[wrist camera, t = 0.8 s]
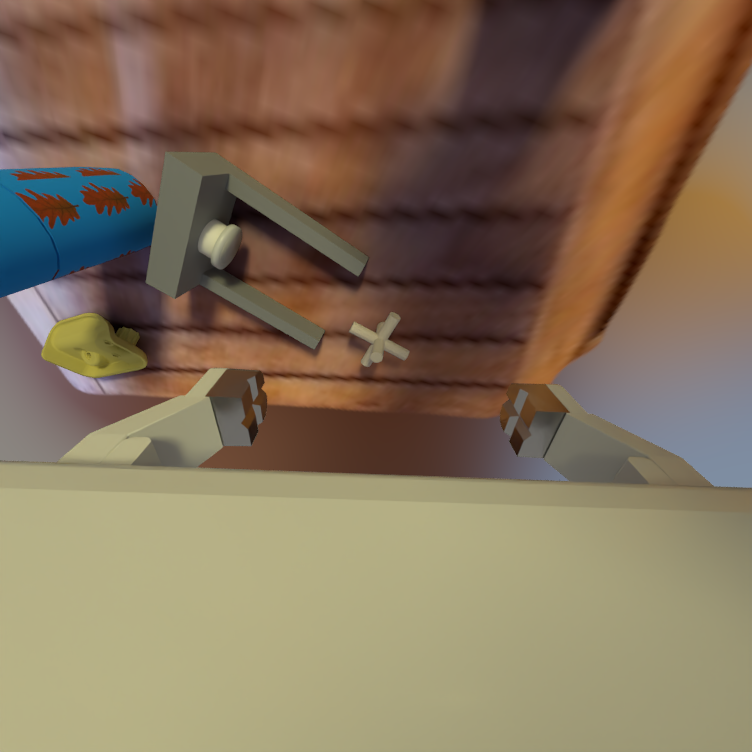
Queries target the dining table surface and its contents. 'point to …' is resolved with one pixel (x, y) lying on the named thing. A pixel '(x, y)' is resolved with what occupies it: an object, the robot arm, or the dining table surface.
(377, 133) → the dining table surface
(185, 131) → the dining table surface
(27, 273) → the thermos
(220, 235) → the rounded knob
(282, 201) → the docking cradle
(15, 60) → the dining table surface
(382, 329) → the pipe connector
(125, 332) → the plastic component
